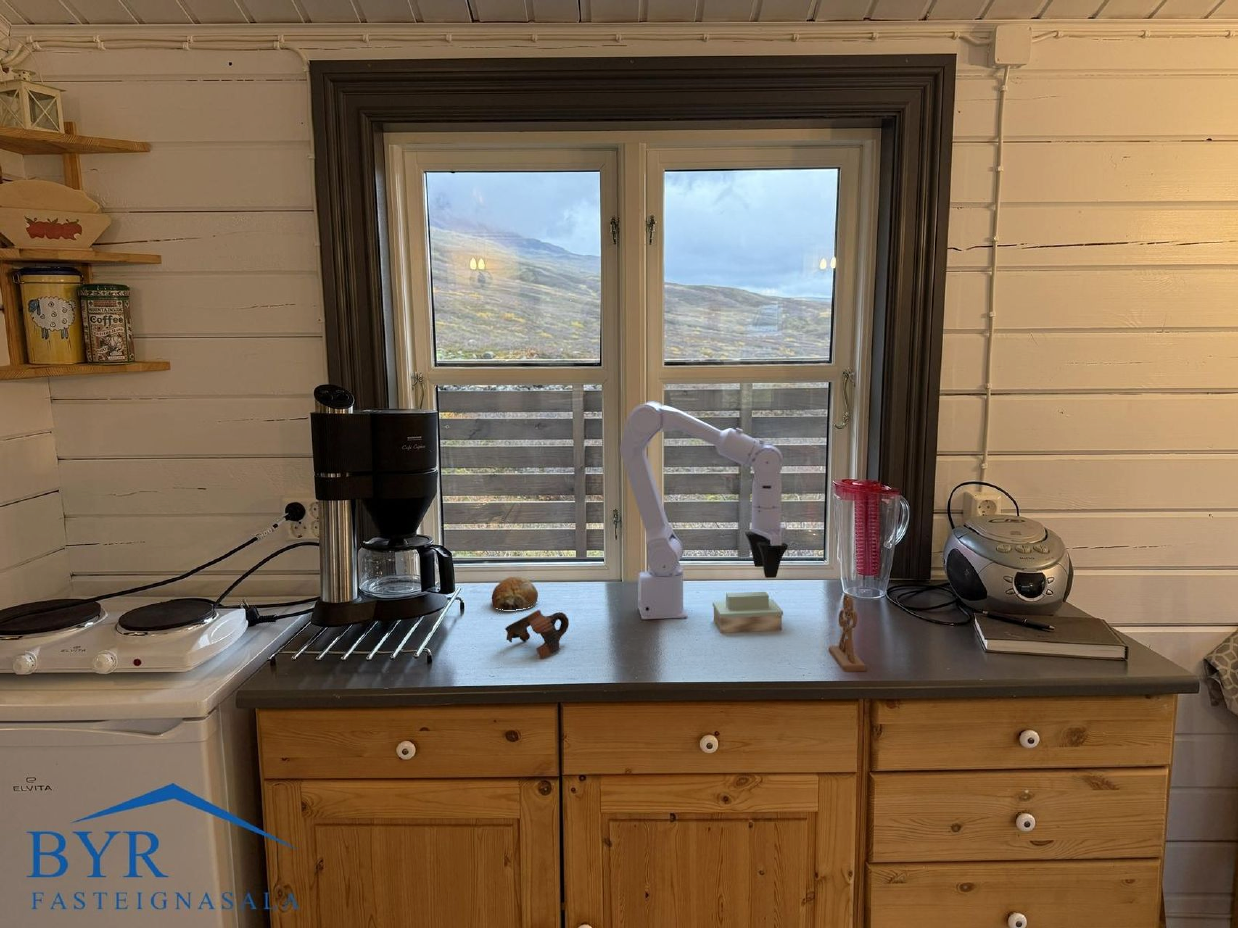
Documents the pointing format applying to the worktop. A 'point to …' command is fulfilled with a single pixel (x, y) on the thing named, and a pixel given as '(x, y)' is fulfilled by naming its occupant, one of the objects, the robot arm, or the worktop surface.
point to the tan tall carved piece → (847, 640)
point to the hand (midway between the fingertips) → (765, 571)
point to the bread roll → (514, 594)
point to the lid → (747, 605)
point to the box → (748, 623)
